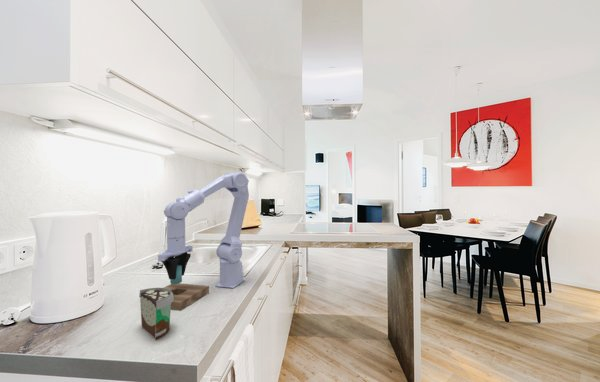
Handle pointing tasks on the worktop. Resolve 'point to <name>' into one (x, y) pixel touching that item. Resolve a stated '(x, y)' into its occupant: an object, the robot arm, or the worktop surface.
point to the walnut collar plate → (186, 294)
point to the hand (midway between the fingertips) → (176, 277)
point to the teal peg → (177, 275)
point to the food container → (156, 311)
